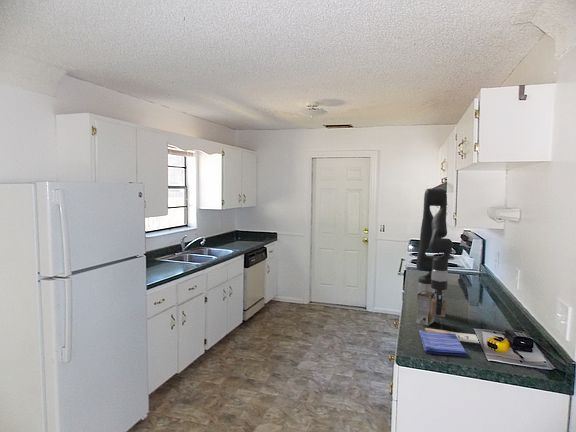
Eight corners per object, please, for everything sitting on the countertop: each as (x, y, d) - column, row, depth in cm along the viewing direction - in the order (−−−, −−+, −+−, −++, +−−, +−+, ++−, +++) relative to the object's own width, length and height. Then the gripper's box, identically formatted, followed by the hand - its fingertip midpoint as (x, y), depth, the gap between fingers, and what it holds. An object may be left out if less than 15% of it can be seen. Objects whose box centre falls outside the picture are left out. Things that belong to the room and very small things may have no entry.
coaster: (424, 329, 197) (424, 327, 197) (448, 331, 194) (448, 330, 194) (425, 335, 187) (425, 334, 187) (450, 338, 184) (450, 337, 184)
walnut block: (431, 312, 194) (431, 298, 194) (444, 313, 192) (444, 299, 192) (431, 315, 188) (432, 301, 188) (445, 317, 186) (445, 302, 186)
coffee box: (422, 319, 213) (423, 290, 212) (434, 322, 209) (435, 292, 208) (415, 323, 206) (417, 293, 205) (428, 326, 202) (429, 295, 201)
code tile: (449, 331, 194) (449, 331, 194) (475, 335, 190) (475, 334, 190) (451, 340, 182) (451, 339, 182) (479, 343, 179) (479, 343, 178)
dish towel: (425, 354, 165) (425, 347, 165) (418, 333, 188) (418, 327, 188) (468, 358, 162) (468, 351, 161) (455, 336, 185) (455, 331, 185)
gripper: (430, 275, 197) (429, 308, 198) (432, 281, 184) (430, 316, 184) (446, 276, 195) (444, 310, 196) (449, 282, 181) (447, 318, 182)
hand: (438, 312), depth 190 cm, fingers closed on walnut block, 6 cm apart
